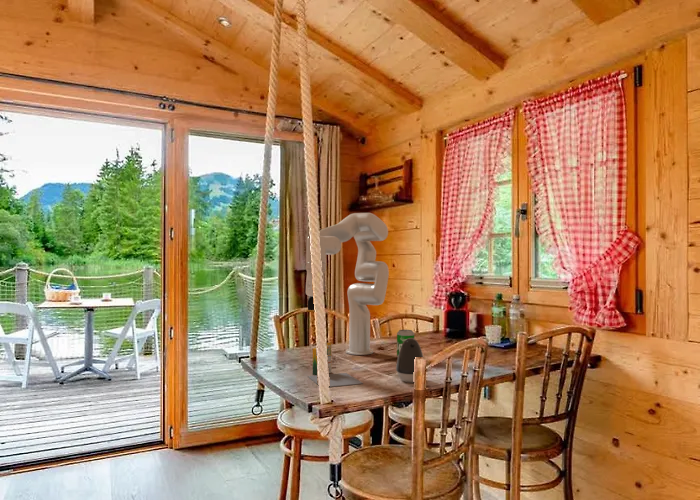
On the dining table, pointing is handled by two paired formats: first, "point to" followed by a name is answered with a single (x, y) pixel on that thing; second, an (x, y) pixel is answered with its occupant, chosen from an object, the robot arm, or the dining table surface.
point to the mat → (339, 380)
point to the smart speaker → (408, 359)
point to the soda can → (403, 338)
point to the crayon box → (316, 359)
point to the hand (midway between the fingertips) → (315, 311)
